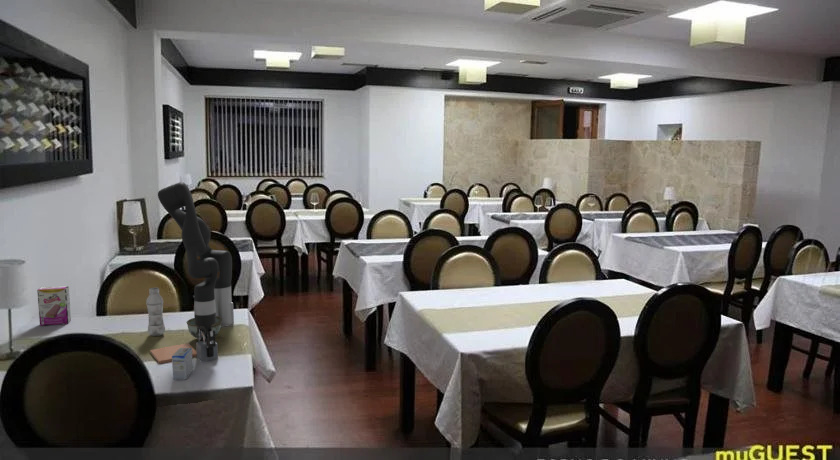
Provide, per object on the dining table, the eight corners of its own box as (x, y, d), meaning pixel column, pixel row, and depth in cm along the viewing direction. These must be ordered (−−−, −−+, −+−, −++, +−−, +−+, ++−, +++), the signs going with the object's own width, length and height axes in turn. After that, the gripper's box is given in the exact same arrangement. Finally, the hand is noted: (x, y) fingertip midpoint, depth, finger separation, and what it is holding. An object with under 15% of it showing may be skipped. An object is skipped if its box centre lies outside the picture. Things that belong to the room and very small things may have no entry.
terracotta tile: (188, 345, 231) (187, 343, 231) (198, 355, 220) (198, 353, 220) (150, 352, 222) (150, 350, 222) (159, 363, 211) (159, 361, 211)
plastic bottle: (159, 338, 238) (156, 291, 236) (144, 337, 240) (141, 290, 237) (168, 333, 245) (166, 287, 242) (154, 332, 246) (151, 286, 243)
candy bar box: (39, 326, 252) (36, 289, 250) (42, 323, 257) (39, 286, 254) (68, 324, 255) (66, 287, 253) (71, 320, 260) (68, 285, 258)
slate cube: (212, 354, 222) (212, 339, 221) (218, 358, 217) (217, 343, 216) (196, 357, 218) (196, 342, 217) (201, 362, 214) (201, 346, 213)
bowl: (229, 335, 243) (228, 317, 242) (208, 346, 230) (207, 326, 229) (202, 332, 247) (201, 313, 246) (180, 342, 235) (179, 322, 233)
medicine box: (180, 371, 205) (179, 347, 204) (193, 371, 205) (192, 347, 204) (172, 380, 197) (171, 355, 196) (186, 379, 197) (185, 355, 196)
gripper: (221, 314, 212) (223, 357, 214) (209, 305, 223) (210, 346, 225) (200, 317, 207) (202, 361, 210) (189, 308, 218) (190, 350, 221)
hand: (206, 353), depth 217 cm, fingers open, 8 cm apart
